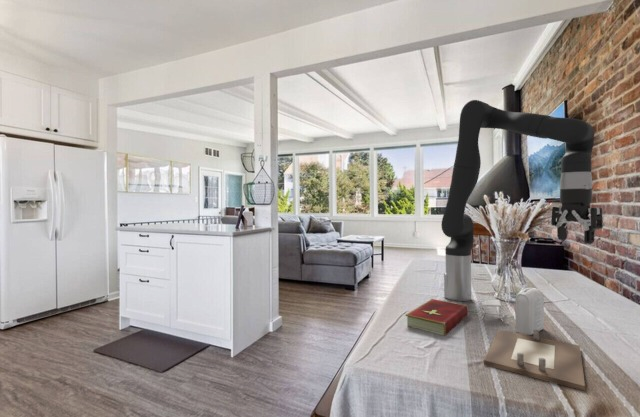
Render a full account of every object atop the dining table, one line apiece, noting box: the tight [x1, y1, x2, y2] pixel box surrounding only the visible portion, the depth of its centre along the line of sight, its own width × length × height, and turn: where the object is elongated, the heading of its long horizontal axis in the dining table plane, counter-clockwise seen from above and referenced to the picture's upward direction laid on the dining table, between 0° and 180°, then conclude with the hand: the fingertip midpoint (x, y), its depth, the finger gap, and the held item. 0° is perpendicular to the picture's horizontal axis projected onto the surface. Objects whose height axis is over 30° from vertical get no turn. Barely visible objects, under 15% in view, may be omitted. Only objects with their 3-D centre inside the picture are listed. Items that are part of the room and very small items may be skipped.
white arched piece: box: [476, 299, 507, 322], centre depth 104 cm, size 12×8×5 cm
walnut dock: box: [483, 329, 586, 391], centre depth 77 cm, size 18×22×4 cm
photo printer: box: [515, 287, 545, 336], centre depth 92 cm, size 10×4×12 cm, turn 123°
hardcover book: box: [405, 298, 469, 337], centre depth 101 cm, size 12×21×4 cm, turn 139°
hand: (574, 241), depth 96 cm, fingers open, 8 cm apart
